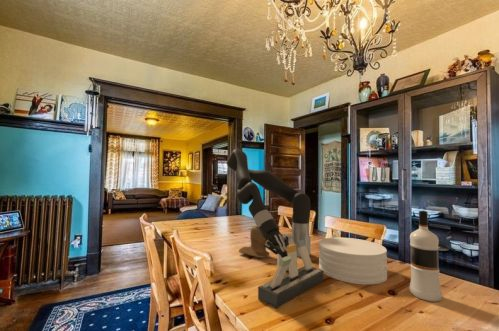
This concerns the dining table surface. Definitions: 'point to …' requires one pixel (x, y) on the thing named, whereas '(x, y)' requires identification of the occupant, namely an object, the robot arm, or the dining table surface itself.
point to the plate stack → (353, 260)
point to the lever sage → (280, 271)
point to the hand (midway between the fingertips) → (288, 262)
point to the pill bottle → (282, 247)
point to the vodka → (424, 262)
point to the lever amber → (292, 261)
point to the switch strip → (290, 287)
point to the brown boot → (256, 244)
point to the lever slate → (304, 255)
